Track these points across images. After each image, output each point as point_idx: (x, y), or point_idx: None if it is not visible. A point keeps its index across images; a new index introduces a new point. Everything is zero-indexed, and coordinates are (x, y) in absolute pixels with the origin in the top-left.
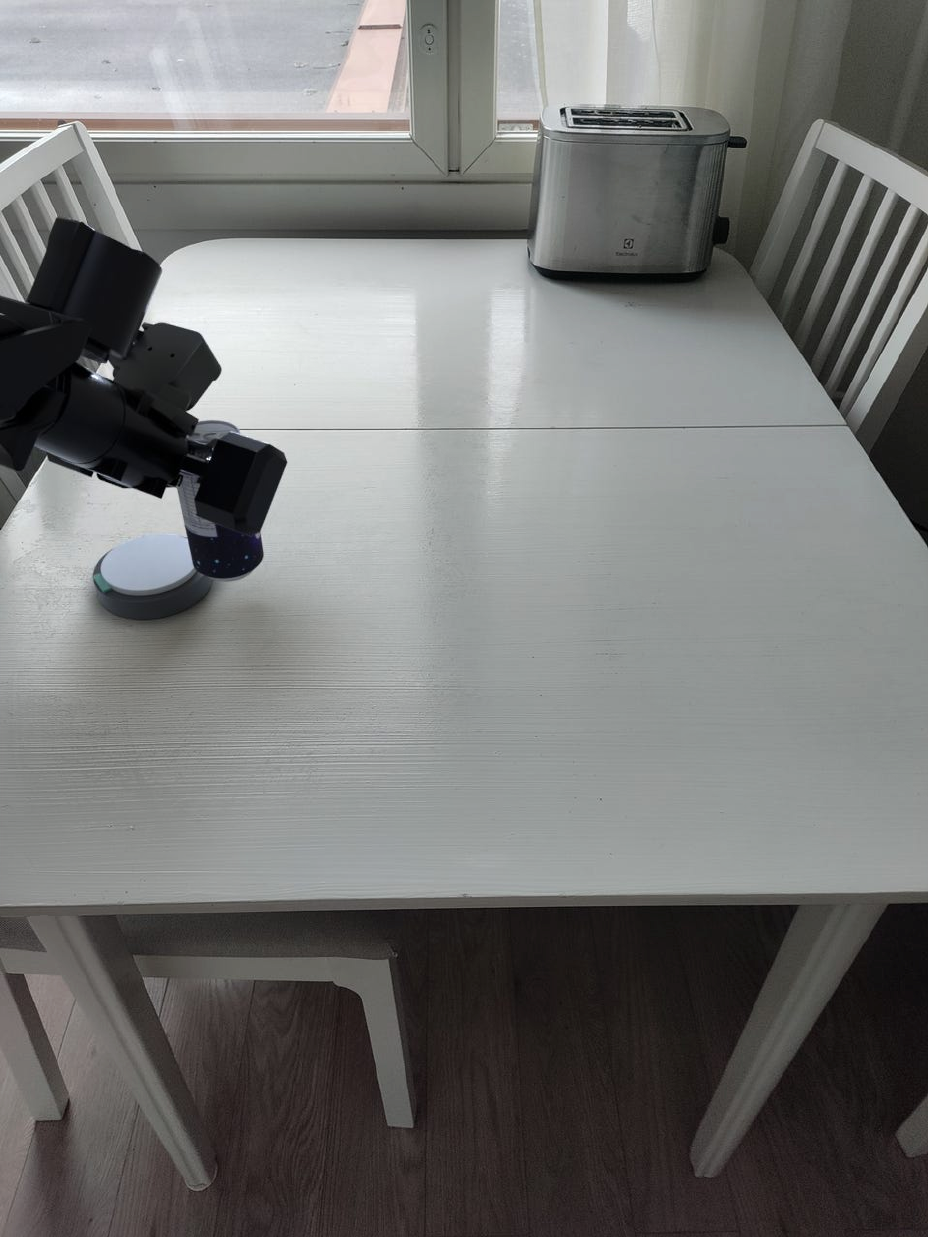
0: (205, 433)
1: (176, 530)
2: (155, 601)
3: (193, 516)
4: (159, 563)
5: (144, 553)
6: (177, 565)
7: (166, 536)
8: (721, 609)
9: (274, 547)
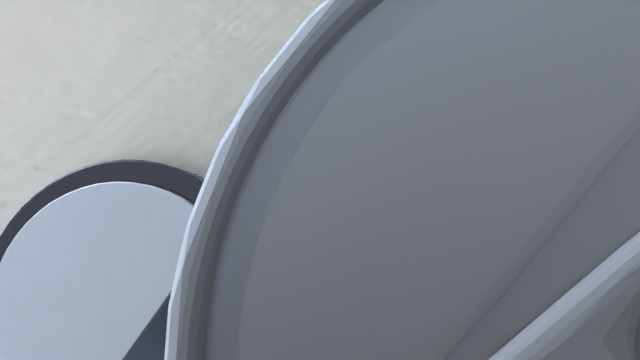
0: (629, 336)
1: (9, 132)
2: None
3: None
4: (142, 304)
5: (74, 302)
6: None
7: (58, 213)
8: None
9: (250, 15)
